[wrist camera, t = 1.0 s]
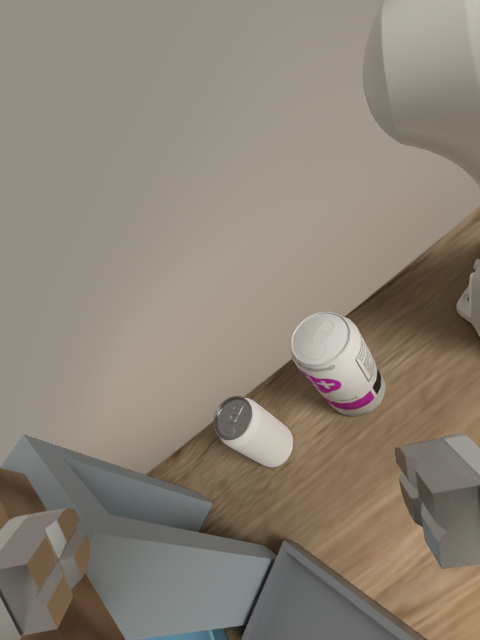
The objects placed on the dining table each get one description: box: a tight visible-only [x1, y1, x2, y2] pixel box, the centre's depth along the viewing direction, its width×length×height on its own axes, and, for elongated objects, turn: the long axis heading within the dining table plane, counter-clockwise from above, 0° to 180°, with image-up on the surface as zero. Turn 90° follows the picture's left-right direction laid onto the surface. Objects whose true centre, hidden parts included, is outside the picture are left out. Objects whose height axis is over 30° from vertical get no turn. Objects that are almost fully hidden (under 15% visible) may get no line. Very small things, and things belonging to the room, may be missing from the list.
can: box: [214, 396, 293, 467], centre depth 46 cm, size 6×6×12 cm
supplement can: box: [291, 312, 385, 416], centre depth 43 cm, size 8×8×15 cm
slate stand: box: [0, 435, 277, 640], centre depth 36 cm, size 7×16×29 cm, turn 57°
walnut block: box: [0, 468, 126, 640], centre depth 21 cm, size 20×4×4 cm, turn 57°
